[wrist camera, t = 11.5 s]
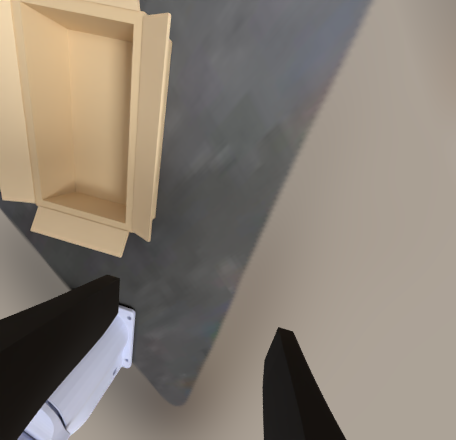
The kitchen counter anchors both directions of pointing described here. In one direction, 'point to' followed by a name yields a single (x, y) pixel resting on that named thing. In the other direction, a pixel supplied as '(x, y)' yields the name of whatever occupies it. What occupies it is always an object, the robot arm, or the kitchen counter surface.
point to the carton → (83, 116)
